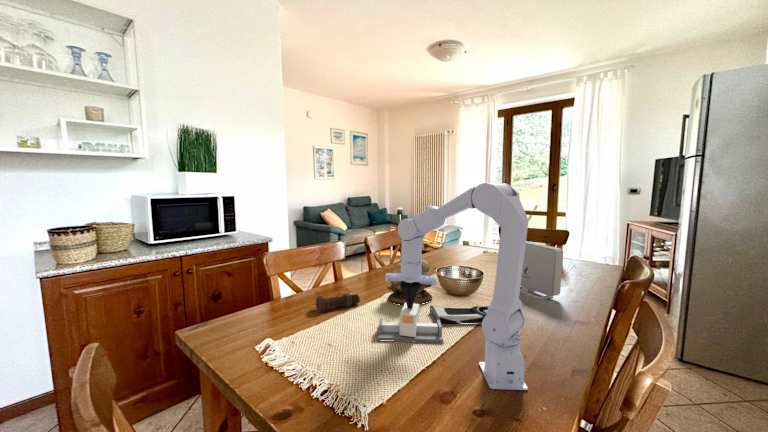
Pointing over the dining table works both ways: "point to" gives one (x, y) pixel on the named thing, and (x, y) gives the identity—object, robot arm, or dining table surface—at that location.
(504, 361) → the robot arm
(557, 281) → the network device
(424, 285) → the tan lumpy piece
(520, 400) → the dining table surface
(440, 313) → the graphics card
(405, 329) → the block
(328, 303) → the bolt
